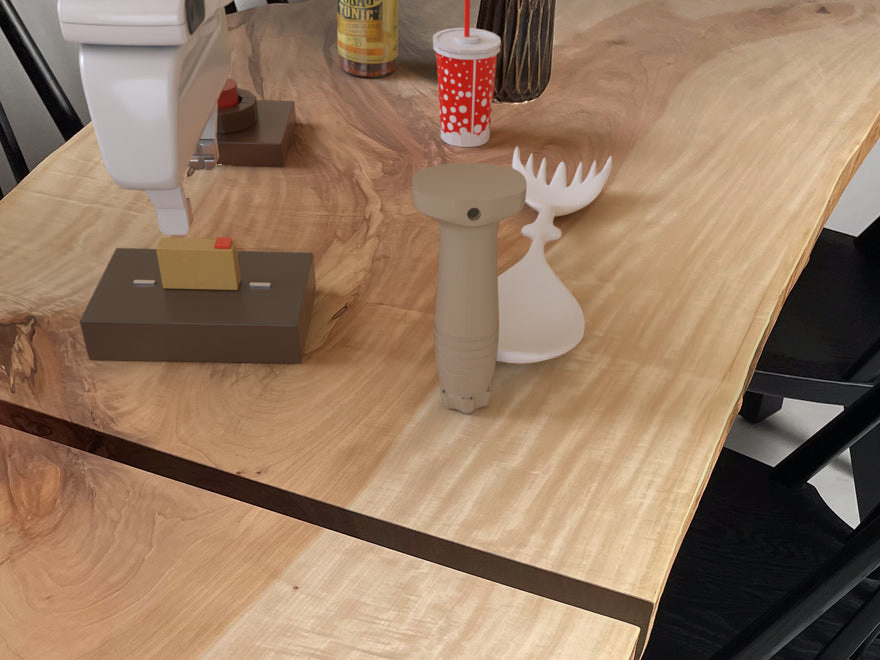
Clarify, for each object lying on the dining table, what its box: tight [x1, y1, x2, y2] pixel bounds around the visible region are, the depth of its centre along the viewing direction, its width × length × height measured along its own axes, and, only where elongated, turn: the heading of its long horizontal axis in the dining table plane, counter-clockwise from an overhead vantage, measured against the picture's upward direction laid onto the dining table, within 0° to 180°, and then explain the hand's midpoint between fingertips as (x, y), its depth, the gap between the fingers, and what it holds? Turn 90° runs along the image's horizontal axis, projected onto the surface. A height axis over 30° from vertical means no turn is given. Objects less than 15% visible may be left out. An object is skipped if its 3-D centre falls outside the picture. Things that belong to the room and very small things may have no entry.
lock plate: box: [79, 247, 317, 364], centre depth 76 cm, size 14×10×3 cm
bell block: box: [216, 87, 297, 168], centre depth 99 cm, size 12×10×4 cm
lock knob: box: [155, 236, 241, 290], centre depth 74 cm, size 5×2×3 cm, turn 92°
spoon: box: [496, 145, 613, 364], centre depth 84 cm, size 9×32×4 cm, turn 172°
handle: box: [411, 162, 527, 414], centre depth 66 cm, size 5×6×15 cm
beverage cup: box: [432, 0, 502, 148], centre depth 99 cm, size 6×6×14 cm
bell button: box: [217, 77, 239, 109], centre depth 97 cm, size 4×4×2 cm
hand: (191, 196), depth 71 cm, fingers open, 8 cm apart
